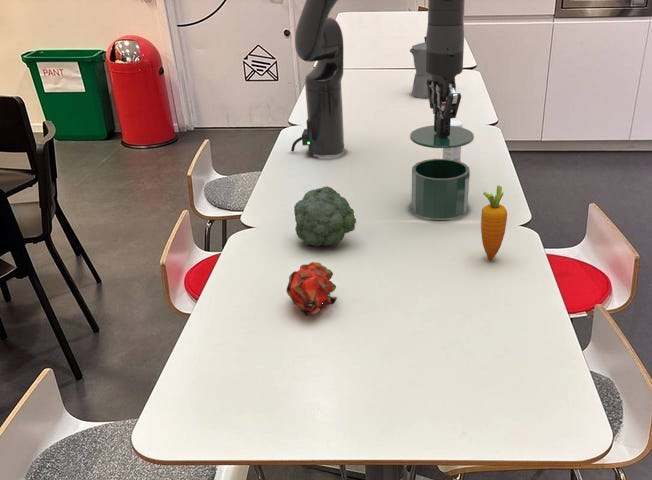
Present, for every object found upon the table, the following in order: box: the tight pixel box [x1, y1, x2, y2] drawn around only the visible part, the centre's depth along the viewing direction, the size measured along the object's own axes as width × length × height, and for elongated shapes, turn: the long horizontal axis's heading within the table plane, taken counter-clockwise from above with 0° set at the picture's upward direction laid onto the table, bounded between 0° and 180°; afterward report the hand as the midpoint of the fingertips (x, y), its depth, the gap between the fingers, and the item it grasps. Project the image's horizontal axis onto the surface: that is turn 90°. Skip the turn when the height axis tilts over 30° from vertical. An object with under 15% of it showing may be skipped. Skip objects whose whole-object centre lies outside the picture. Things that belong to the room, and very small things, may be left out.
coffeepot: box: [409, 36, 432, 99], centre depth 230 cm, size 15×9×18 cm, turn 125°
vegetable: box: [293, 185, 357, 248], centre depth 146 cm, size 12×13×15 cm
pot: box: [411, 158, 471, 222], centre depth 157 cm, size 13×13×10 cm
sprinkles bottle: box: [442, 119, 463, 162], centre depth 172 cm, size 5×5×14 cm
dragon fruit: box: [286, 261, 338, 317], centre depth 125 cm, size 8×8×12 cm
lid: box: [409, 110, 475, 149], centre depth 149 cm, size 14×14×6 cm
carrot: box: [480, 185, 508, 261], centre depth 136 cm, size 5×5×15 cm
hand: (441, 133), depth 150 cm, fingers closed on lid, 2 cm apart
